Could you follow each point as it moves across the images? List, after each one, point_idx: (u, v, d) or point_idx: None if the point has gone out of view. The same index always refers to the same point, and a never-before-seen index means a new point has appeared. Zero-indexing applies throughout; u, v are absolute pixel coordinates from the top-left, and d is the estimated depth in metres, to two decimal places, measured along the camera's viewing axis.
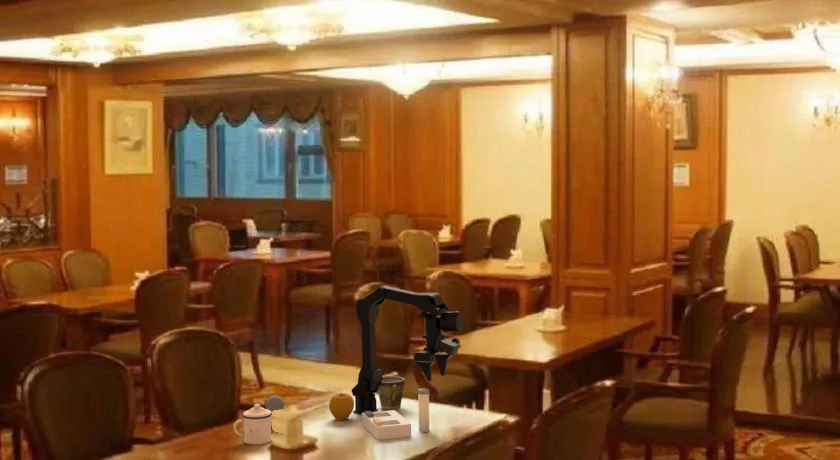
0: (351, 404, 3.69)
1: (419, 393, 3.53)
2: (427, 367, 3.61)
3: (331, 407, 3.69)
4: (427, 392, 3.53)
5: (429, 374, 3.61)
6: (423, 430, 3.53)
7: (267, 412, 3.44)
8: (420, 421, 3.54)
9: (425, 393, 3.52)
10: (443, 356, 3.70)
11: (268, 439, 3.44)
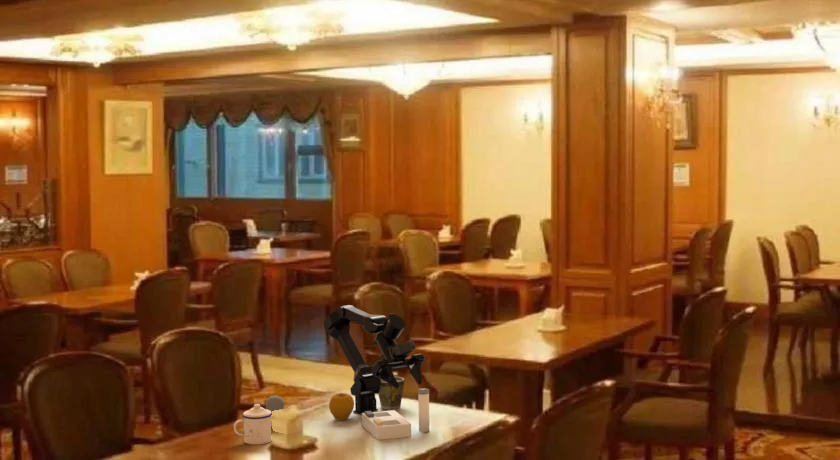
0: (351, 404, 3.69)
1: (419, 393, 3.53)
2: (389, 376, 3.59)
3: (331, 407, 3.69)
4: (427, 392, 3.53)
5: (393, 381, 3.57)
6: (423, 430, 3.53)
7: (267, 412, 3.44)
8: (420, 421, 3.54)
9: (425, 393, 3.52)
10: (413, 367, 3.66)
11: (268, 439, 3.44)
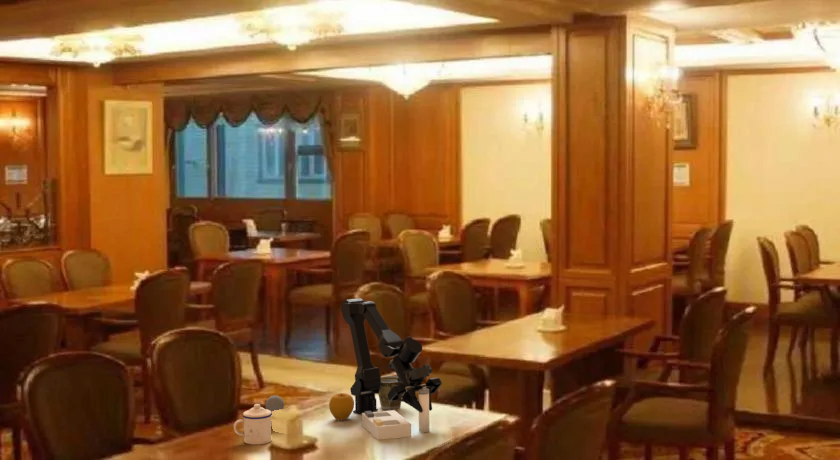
0: (351, 404, 3.69)
1: (419, 393, 3.53)
2: (412, 400, 3.54)
3: (331, 407, 3.69)
4: (427, 392, 3.53)
5: (417, 405, 3.53)
6: (423, 430, 3.53)
7: (267, 412, 3.44)
8: (420, 421, 3.54)
9: (425, 393, 3.52)
10: None
11: (268, 439, 3.44)
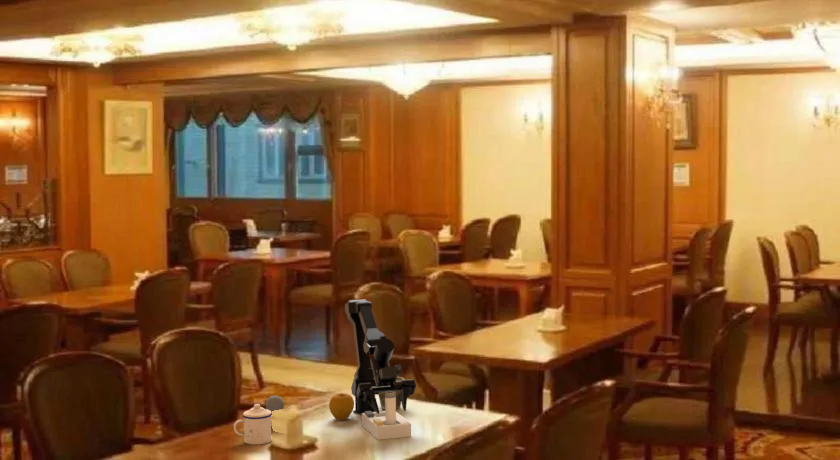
0: (351, 404, 3.69)
1: None
2: (371, 400, 3.50)
3: (331, 407, 3.69)
4: (392, 396, 3.48)
5: (374, 405, 3.48)
6: None
7: (267, 412, 3.44)
8: None
9: (390, 397, 3.48)
10: (402, 392, 3.54)
11: (268, 439, 3.44)
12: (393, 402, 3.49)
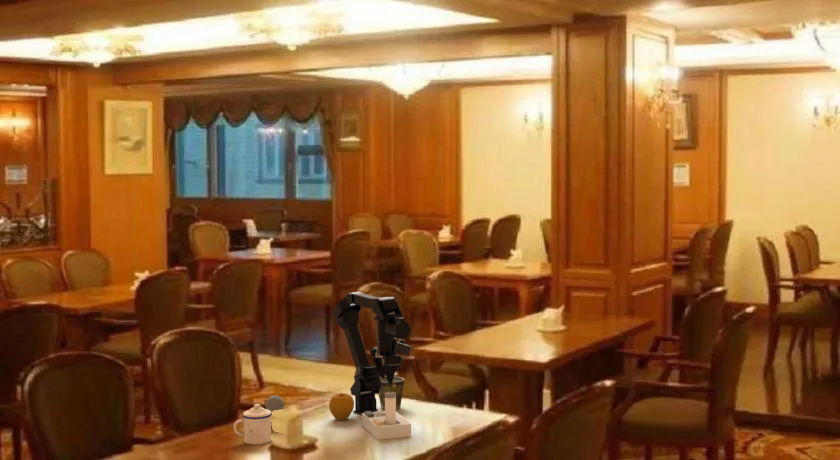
0: (351, 404, 3.69)
1: None
2: (391, 370, 3.63)
3: (331, 407, 3.69)
4: (392, 396, 3.48)
5: (392, 377, 3.64)
6: None
7: (267, 412, 3.44)
8: None
9: (390, 397, 3.48)
10: None
11: (268, 439, 3.44)
12: (393, 402, 3.49)
